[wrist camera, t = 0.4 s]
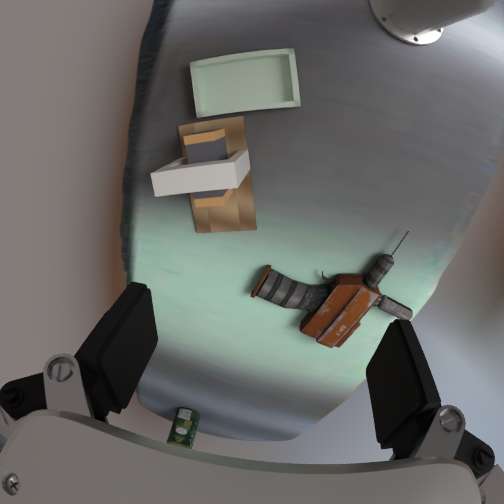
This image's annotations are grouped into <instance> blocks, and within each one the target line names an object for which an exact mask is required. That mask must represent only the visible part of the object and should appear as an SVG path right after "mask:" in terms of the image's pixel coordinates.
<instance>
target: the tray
mask: <svg viewBox="0 0 504 504" xmlns="http://www.w3.org/2000/svg"><path fill="white" fill-rule="evenodd" d="M190 69H191V77H192V85H193V93H194V101H195V108H196V115H197V118H200V117H207V116H213V115H220V114H227V113H234V112H242V111H251V110H261V109H273V108H287V107H301V104H300V94H299V85H298V76H297V68H296V60H295V53H294V48H288V49H274V50H263V51H254V52H246V53H238V54H232V55H226V56H220V57H214V58H209V59H204V60H199V61H195V62H190Z"/></svg>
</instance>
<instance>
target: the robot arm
mask: <svg viewBox="0 0 504 504" xmlns="http://www.w3.org/2000/svg"><path fill="white" fill-rule="evenodd" d="M369 2H370V6H371V9H372V12H373V14H374V16H375V17H376V19H377V20H378V22H379V23H380V24H381V25H382V26H383V27H384V28H385V29H386V30H387V31H388V32H389V33H390V34H392V35H393V36H394V37H396V38H398V39H400V40H401V41H404V42H406V43H409V44H413V45H422V46H423V45H428V44H431V43H434V42H435V41H437V40H438V39H439V38H440V37H441V35H442V33H443V29H444V27H446V26H448V25H451V24H453V23H456V22H459V21H461V20H464V19H467V18H469V17H472V16H475V15H478V14H481V13H484V12H486V11H488V10H490V9H491V8H492V7H493V5H494V4H495V2H496V0H369ZM382 19H383V20H384V21H383V20H382ZM414 40H415V41H414ZM157 342H158V335H157V329H156V323H155V317H154V310H153V303H152V296H151V290H150V289H148V288H147V286H146V284H142V283H137V282H131V283H130V284H129V285H128V286H127V288H126V289H125V290H124V291H123V293H122V294H121V295H120V297H119V298H118V299H117V300H116V302H115V303H114V304H113V306H112V307H111V308H110V310H108V311H107V312H106V313H105V314H104V316H103V317H102V318H101V320H100V321H99V322H98V323H97V325H96V326H95V328H94V329H93V330H92V332H91V333H90V334H89V336H88V337H87V339H86V340H85V342H84V343H83V344H82V346H81V347H80V348H79V350H78V351H77V353H76V354H75V356H74V357H73V356H71V355H69V354H58V355H55V356H53V357H51V358H50V359H49V360H48V361H47V362H46V364H45V366H44V371H43V372H42V373H39V374H35V375H31V376H28V377H24V378H21V379H17V380H13V381H10V382H8V383H6V384H5V385H4V386H3V387H2V388H1V390H0V504H504V472H503V471H502V469H501V468H500V467H499V465H498V464H496V465H495V466H494V462H495V456H494V452H493V450H492V448H491V447H490V446H489V445H487V444H486V443H484V442H483V441H481V440H480V439H478V438H477V437H476V436H474V435H473V434H471V433H469V432H468V431H467V430H465V424H466V423H465V417H464V415H463V413H462V412H461V411H460V410H459V409H458V408H457V407H455V406H452V405H445V406H441V403H440V402H441V399H440V396H439V393H438V390H437V388H436V385H435V382H434V379H433V376H432V374H431V371H430V368H429V366H428V363H427V360H426V358H425V355H424V353H423V350H422V348H421V345H420V343H419V341H418V338H417V336H416V333H415V331H414V329H413V326H412V324H411V322H410V321H409V320H403V319H395V320H394V322H391V323H390V324H389V326H388V328H387V330H386V332H385V334H384V336H383V338H382V340H381V342H380V344H379V345H378V347H377V349H376V351H375V353H374V355H373V356H372V358H371V360H370V362H369V364H368V365H367V368H366V377H367V382H368V388H369V393H370V399H371V405H372V411H373V417H374V423H375V431H376V438H377V442H378V443H380V444H381V449H388V448H393V455H392V456H391V458H390V459H389V461H382V462H370V463H356V464H291V463H276V462H265V461H256V460H247V459H240V458H233V457H228V456H222V455H216V454H211V453H206V452H201V451H197V450H192V449H188V448H184V447H180V446H176V445H172V444H169V443H165V442H162V441H158V440H155V439H152V438H148V437H145V436H142V435H138V434H136V433H133V432H130V431H127V430H124V429H121V428H118V427H115V426H112V425H110V424H109V423H108V420H107V417H106V416H107V415H108V413H109V411H112V412H115V413H118V414H120V412H121V410H122V408H123V409H125V408H126V407H127V406H128V404H129V402H130V399H131V397H132V395H133V393H134V391H135V389H136V387H137V385H138V382H139V380H140V378H141V376H142V374H143V372H144V370H145V368H146V366H147V364H148V362H149V360H150V358H151V356H152V354H153V352H154V350H155V348H156V345H157Z"/></svg>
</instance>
